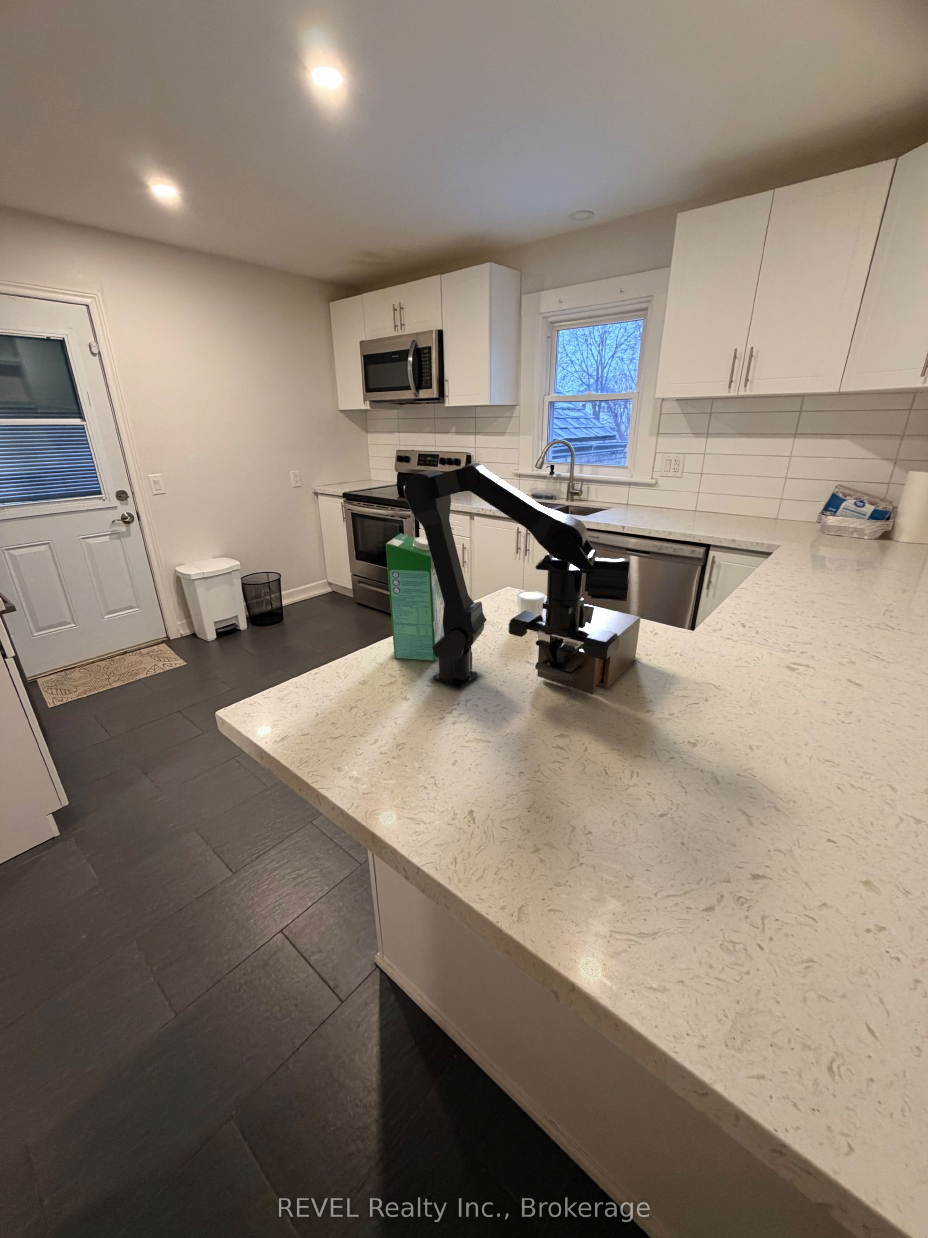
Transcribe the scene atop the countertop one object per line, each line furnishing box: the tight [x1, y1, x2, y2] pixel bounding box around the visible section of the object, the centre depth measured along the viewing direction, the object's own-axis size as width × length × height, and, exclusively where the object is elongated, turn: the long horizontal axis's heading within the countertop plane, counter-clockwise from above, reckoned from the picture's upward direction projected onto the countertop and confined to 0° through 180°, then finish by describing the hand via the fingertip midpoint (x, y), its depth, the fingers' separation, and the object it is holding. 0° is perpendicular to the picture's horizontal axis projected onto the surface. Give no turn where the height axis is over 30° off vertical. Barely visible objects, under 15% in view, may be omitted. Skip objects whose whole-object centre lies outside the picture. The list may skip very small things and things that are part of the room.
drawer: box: [534, 642, 606, 695], centre depth 93 cm, size 18×11×8 cm, turn 142°
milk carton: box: [385, 533, 444, 662], centre depth 104 cm, size 9×9×25 cm
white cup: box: [515, 590, 546, 617], centre depth 121 cm, size 7×7×7 cm
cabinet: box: [579, 603, 642, 689], centre depth 99 cm, size 15×13×10 cm
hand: (559, 676), depth 89 cm, fingers closed, pressing on drawer
